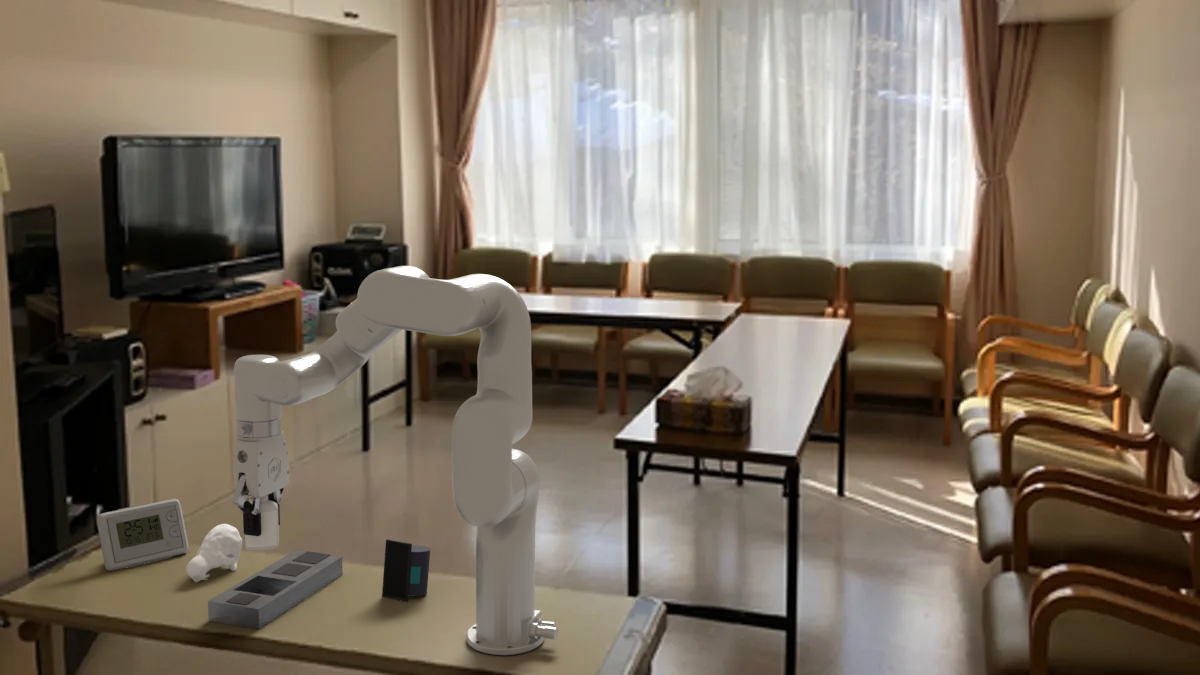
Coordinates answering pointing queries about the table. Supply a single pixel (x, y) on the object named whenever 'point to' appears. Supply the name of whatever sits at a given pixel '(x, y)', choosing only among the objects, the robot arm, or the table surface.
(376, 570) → the table surface
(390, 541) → the speaker
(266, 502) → the eye dropper bottle
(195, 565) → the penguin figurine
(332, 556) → the rail
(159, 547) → the digital clock
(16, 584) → the table surface
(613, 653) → the table surface
